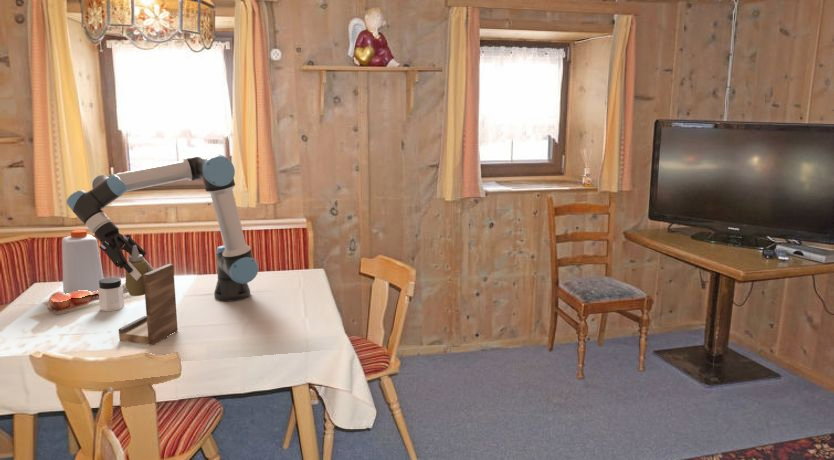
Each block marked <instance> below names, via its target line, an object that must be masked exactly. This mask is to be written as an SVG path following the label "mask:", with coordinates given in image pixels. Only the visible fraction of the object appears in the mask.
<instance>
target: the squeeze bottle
mask: <svg viewBox="0 0 834 460" xmlns="http://www.w3.org/2000/svg"><path fill="white" fill-rule="evenodd" d="M128 262H130V263H131V264H132V265H133V266H134V267H135V268H136V269H137V270H138V272H139V273H140V274H141V275H142V276H141V277H140V278H139V279H138V280H137V281H136V280H135V279H134V278H133V276H132V275H131V274H130V273H128V272H127V271H126V270H125V287H126V290H127V292H128V294H129V296H131V297H140V296H145V289H144V277H143V274H145V273H148V270H147V265H146V262H145V261H144V260H143V255H141V254H139V252H138V249H137V246H133V249H132V255H131V254H129V255H128V261H127V263H128Z"/></svg>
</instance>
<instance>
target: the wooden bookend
mask: <svg viewBox="0 0 834 460" xmlns="http://www.w3.org/2000/svg"><path fill="white" fill-rule="evenodd" d="M154 269H155V270H153V271H150V272H148V273H145V274H143V277H144V289H145V295H144V300H145V302H144V303H145V315H144V316H141V317H139V318H137V319H136V320H134V321H132V322H130V323H128V324H126V325H124V326H122V327H119V328H118V338H119V341H120V342H123V343H124V342H125V343H126V342H127V343H133V344H134V343H135V344H141V345H147V344H149V345H148V346H155V345H157V344H158V342H159V343H160V342H162V341H163V339H164V338H165V339H167V338H168V337H167V336H169V335H170V334H172V333H174V332H175V333H177V332H178V331H179V329H178V314H177V303H176V301H177V300H176V287H175V286H176V285H175V271H174V264H173V263H167V264H165V265H162V266H160V267H158V268H154ZM177 330H178V331H177ZM176 331H177V332H176ZM175 333H174V334H175ZM172 335H173V334H172ZM170 336H171V335H170ZM170 336H169V337H170ZM166 337H167V338H166ZM165 339H164V340H165ZM161 340H162V341H161ZM156 343H157V344H156Z"/></svg>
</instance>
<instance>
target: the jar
mask: <svg viewBox="0 0 834 460" xmlns="http://www.w3.org/2000/svg"><path fill="white" fill-rule="evenodd" d="M123 287H124V286H123V284H122V279H121V278H120V277H114V276H112V277H104V279H101V280H100V281H99V288H98V291H99V294H98V299H99V308H100V309H99V310H101V311H104V312H113V311H120V310H121V309H123V308H124V306H125V301H124V300H125V299H124V288H123Z"/></svg>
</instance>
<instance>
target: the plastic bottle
mask: <svg viewBox="0 0 834 460" xmlns="http://www.w3.org/2000/svg"><path fill="white" fill-rule="evenodd" d="M99 249H100V247H99V244H98V239H97V237H96V236H93V235H92V234H88V231H87V230H86V229H74V230H72V231H71V232H70V235H69V236H65V237H63V238H62V240H61V251H62V252H61V254H62V256H61V259H62V288H63V289H62V290H63V291H62V292H63V293H64V292H65V293H70V292H73V291H78V290H88V291H91V292H93V291H97V290H98V288H99V281H100V280H101V279H105V277H104V274H103V273H104V271H103V267H102V261H101V256H100V250H99ZM65 293H64V294H65Z"/></svg>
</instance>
